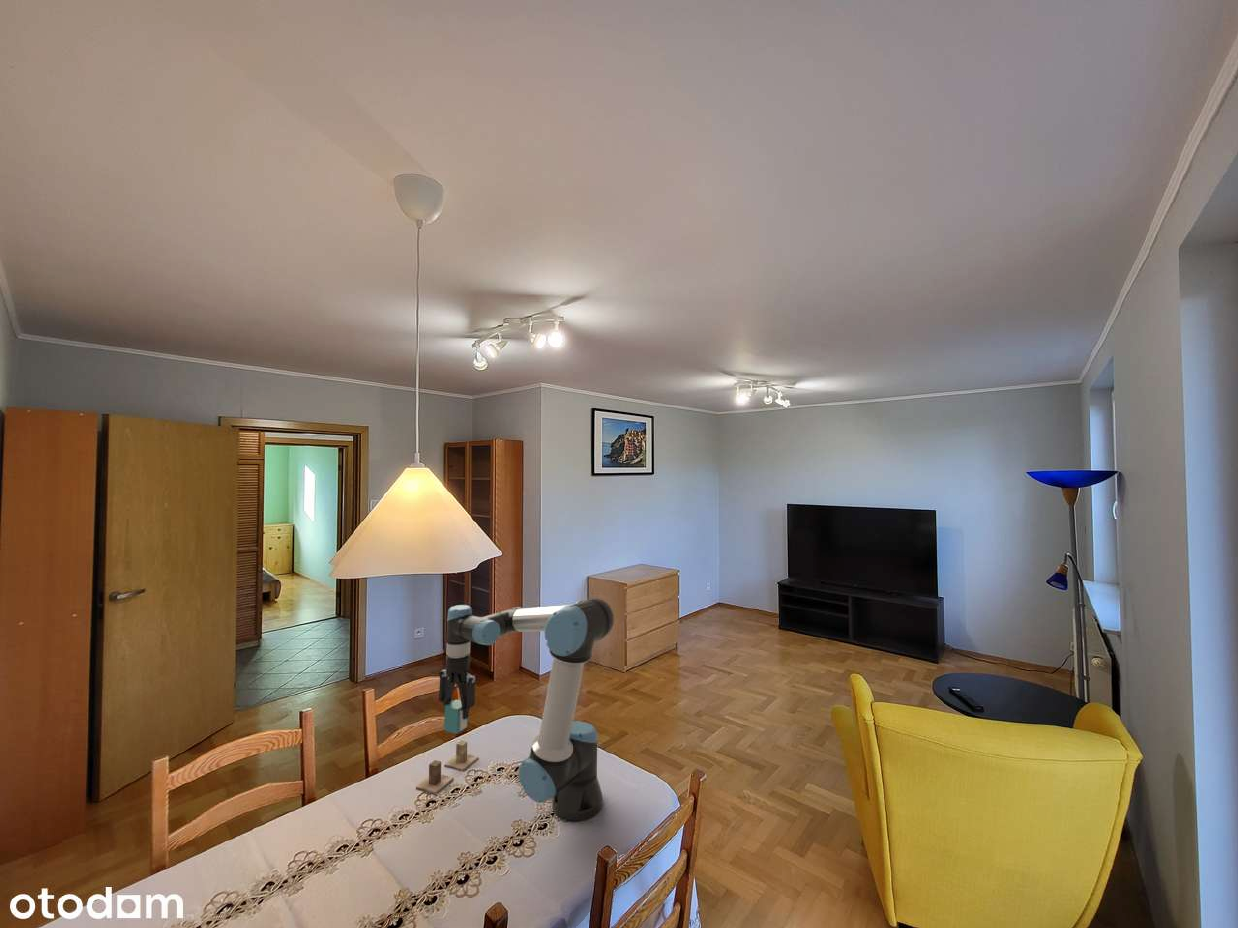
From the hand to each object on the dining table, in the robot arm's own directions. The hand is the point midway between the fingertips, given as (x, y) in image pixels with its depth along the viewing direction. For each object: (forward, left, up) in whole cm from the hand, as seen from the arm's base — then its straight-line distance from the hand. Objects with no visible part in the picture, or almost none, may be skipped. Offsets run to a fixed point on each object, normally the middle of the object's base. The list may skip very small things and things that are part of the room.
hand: (455, 725), depth 156 cm
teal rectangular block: (0, 0, -1) cm, 1 cm away
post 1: (+5, +3, -18) cm, 19 cm away
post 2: (+5, -10, -18) cm, 21 cm away
